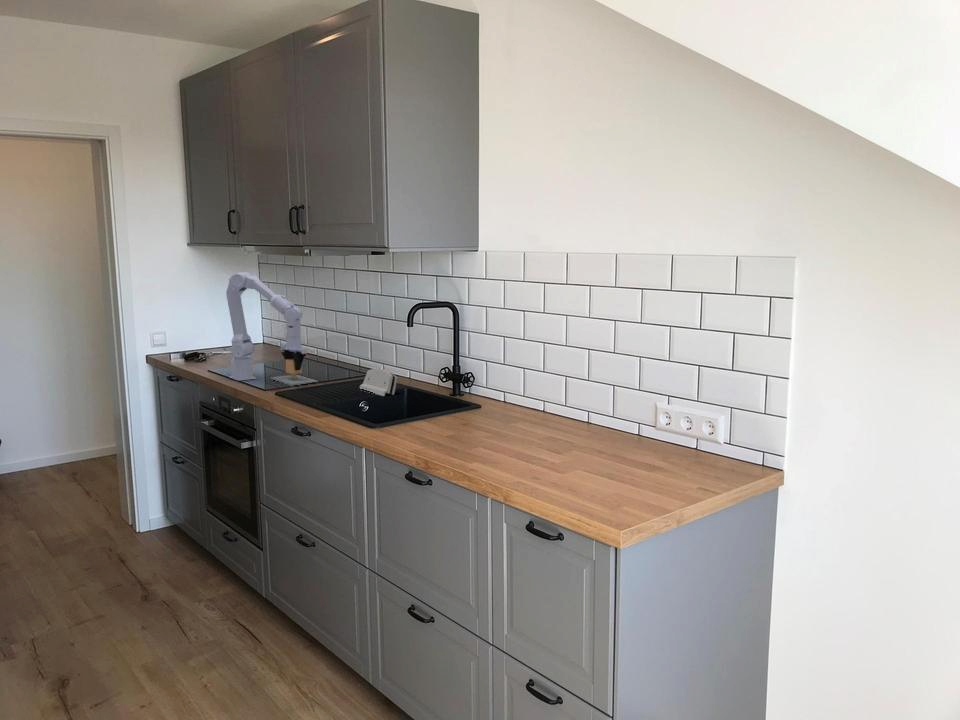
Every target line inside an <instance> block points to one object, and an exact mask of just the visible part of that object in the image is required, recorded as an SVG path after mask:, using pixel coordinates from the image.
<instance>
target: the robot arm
mask: <svg viewBox="0 0 960 720" xmlns="http://www.w3.org/2000/svg"><path fill="white" fill-rule="evenodd" d="M248 289H249V290H250V289H251V290H255V291H257V293H259V294H260V295H262V296H263V297H265V298H266V299H267V300H269V302H270V303H269V304H270V306H271V307H273V309H275V310H276V311H277V312H278V313H280V314H281V315H283V318H284V320H285V323H286V324H285V330H286V331H285V333H286V335H285V337H286V341H285V342H286V345H285V344H283V345H280V351H282V352H281V355H282V356H283V359H284V361H285V362H286V359H293V358H294V363H295V370H300V369H301V365H302V366H303V361H304V358H305V357H306V355H307V354H308V349H307V348H306V347H302V344H301V343H302V341H301V340H302V339H301V338H302V336H301V335H302V333H301V331H302V330H301V319H302V318H303V310H302V309H301V308H300V306H297V305H295V304H294V303H293V302H292V303H291V302H290V301H288V299H286V296H285V295H284V294H283V295H282V294H276V293H274V292H273V291H272V289H270V288H269V287H268V286H267V285H265V284H264V283H263V282H262V281H261V280H260V279H259V277H257V276H256V275H254V274H253V273H252V272H250V271H243V272H234V273H233V274H232V275H231V276H230V277H229V278H228V285H227V289H226V292H225V293H226V295H225V296H226V300H227V301H226V302H227V305H228V313H229V316H230V322H231V327H232V333H233V336H232V339H231V347H230V353H231V355H232V356H233V357H232V359H231V361H230V375H229V376H228V378H229V379H232V380H236V381H239V382H241V381H247V380H249V381H250V380H256V379H257V377H256V376H253V353H254V351H255V344H254V343H253V341H252V339H251V337H252V336H250V335H249V334H248V330H247V323H246V319H245V315H244V307H243V301H242V297H241V296H242V295H243V293H244V292H245V291H246V290H248Z"/></svg>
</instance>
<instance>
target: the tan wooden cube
mask: <svg viewBox="0 0 960 720" xmlns="http://www.w3.org/2000/svg"><path fill="white" fill-rule="evenodd" d="M285 373H286V374H289V375H291V374H297V375H298V374H302V373H303V364H302V365H301V369H300V370H295V363H294V358H293V359H286V361H285Z"/></svg>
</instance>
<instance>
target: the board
mask: <svg viewBox="0 0 960 720" xmlns="http://www.w3.org/2000/svg"><path fill="white" fill-rule="evenodd" d="M269 379H273V380H275V381H274V382H276V381H279V382H282V383H284V384H283V385H286V384H287V385H286V386H289V385H290V386H289V387H295V386H294V385H299V386H301V385H300V384H306V383H312V382H318V383H319V380H316V379H314V378H313V379H312V378H310V377H306V376H302V375H300V374H299V375H298V373H297V374H289V375H280V376H270V377H269ZM273 380H272V381H273ZM279 382H278V383H279ZM282 383H281V384H282Z"/></svg>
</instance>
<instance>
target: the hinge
mask: <svg viewBox="0 0 960 720" xmlns="http://www.w3.org/2000/svg"><path fill="white" fill-rule="evenodd" d="M362 382H363V383H362V384H360V385H359V388H360V389H364V390H367V391H370V392H373V393H372V394H374V393H375V394H374V395H378V396H381V397H385V396H386V394H390V395H392V396H394V395H395V392H396V387H397V382H398V377H397V376H396V375H395V374H393V373H392V372H391V371H390V370H389V371H388V370H386V369H382V368H372V369H369V370H367V372H366V374H365V377H364V380H363V381H362ZM359 388H358V389H359ZM370 392H369V393H370Z"/></svg>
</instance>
